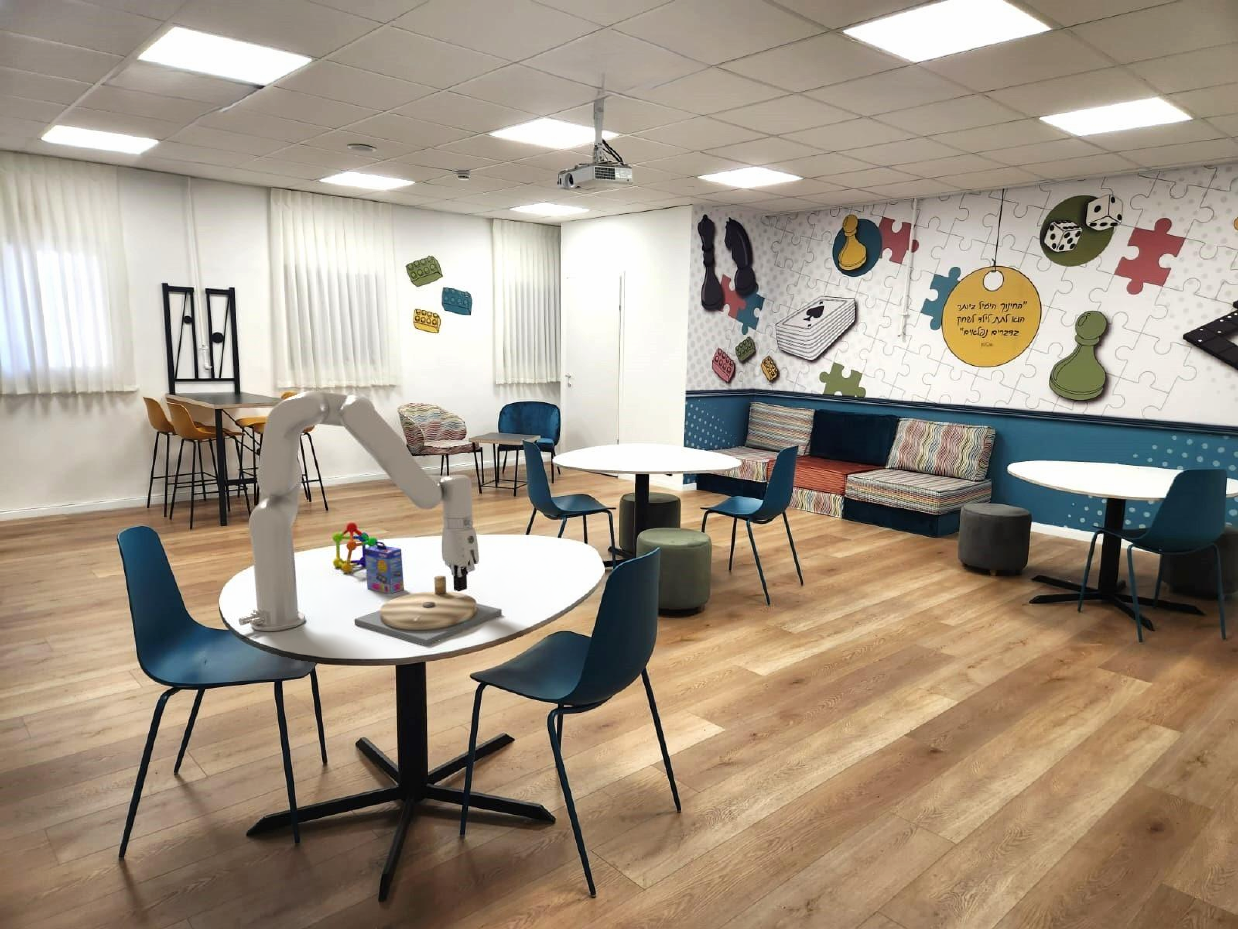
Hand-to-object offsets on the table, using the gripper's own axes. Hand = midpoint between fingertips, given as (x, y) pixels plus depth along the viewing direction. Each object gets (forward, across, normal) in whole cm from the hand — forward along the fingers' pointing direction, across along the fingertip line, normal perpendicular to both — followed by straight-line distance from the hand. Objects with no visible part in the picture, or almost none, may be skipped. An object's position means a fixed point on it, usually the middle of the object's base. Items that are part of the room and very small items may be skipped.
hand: (460, 589), depth 216 cm
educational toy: (+6, +58, -6) cm, 58 cm away
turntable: (+4, 0, +10) cm, 11 cm away
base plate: (+5, 0, +10) cm, 12 cm away
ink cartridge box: (+6, +31, +2) cm, 31 cm away
